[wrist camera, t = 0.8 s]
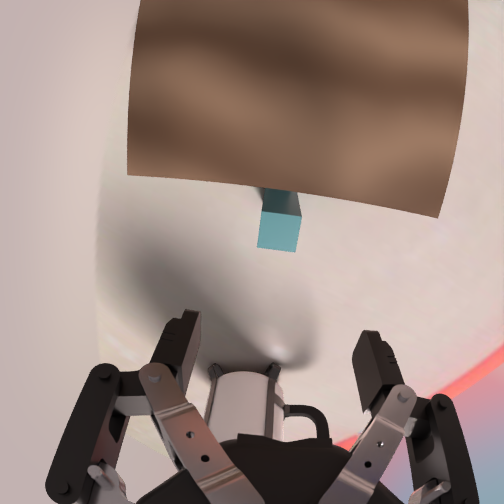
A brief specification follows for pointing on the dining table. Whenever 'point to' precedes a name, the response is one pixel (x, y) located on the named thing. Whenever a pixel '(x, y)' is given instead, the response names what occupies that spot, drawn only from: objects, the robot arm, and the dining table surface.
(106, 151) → the dining table surface
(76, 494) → the robot arm
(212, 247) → the dining table surface
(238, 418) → the coffee press
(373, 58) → the small wooden table
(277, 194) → the slider
